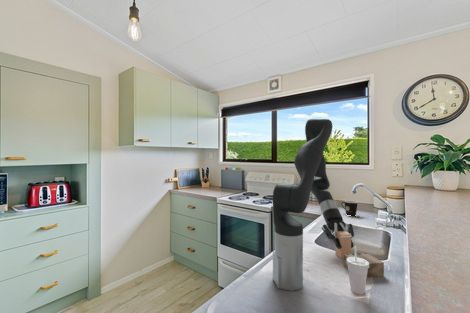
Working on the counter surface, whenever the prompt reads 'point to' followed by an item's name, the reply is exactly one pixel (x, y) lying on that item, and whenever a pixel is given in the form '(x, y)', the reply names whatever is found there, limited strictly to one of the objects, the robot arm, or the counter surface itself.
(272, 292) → the counter surface
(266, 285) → the counter surface
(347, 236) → the tan rectangular box
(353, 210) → the coffee mug
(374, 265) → the brown rectangular box
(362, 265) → the smoothie
